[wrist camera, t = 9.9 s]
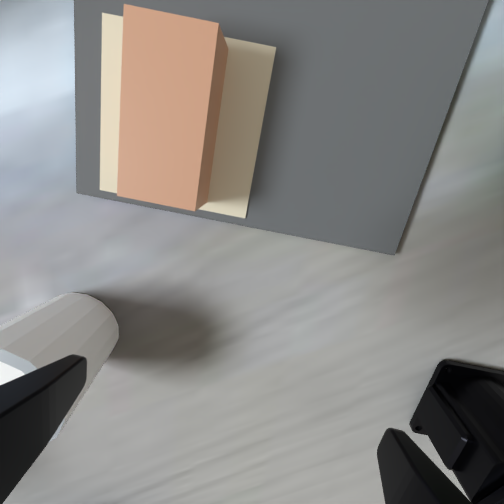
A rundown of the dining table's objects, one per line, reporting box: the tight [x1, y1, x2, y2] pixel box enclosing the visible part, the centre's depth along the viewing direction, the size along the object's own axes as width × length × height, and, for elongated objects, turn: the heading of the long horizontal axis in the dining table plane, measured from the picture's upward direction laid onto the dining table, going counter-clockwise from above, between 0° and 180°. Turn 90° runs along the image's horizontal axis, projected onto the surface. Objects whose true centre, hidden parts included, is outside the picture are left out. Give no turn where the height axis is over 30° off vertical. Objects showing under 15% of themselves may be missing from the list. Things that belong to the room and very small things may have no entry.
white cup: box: [0, 292, 119, 442], centre depth 18 cm, size 7×7×7 cm
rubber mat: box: [74, 0, 489, 255], centre depth 15 cm, size 20×18×1 cm
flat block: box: [117, 4, 228, 211], centre depth 15 cm, size 8×4×3 cm, turn 169°
